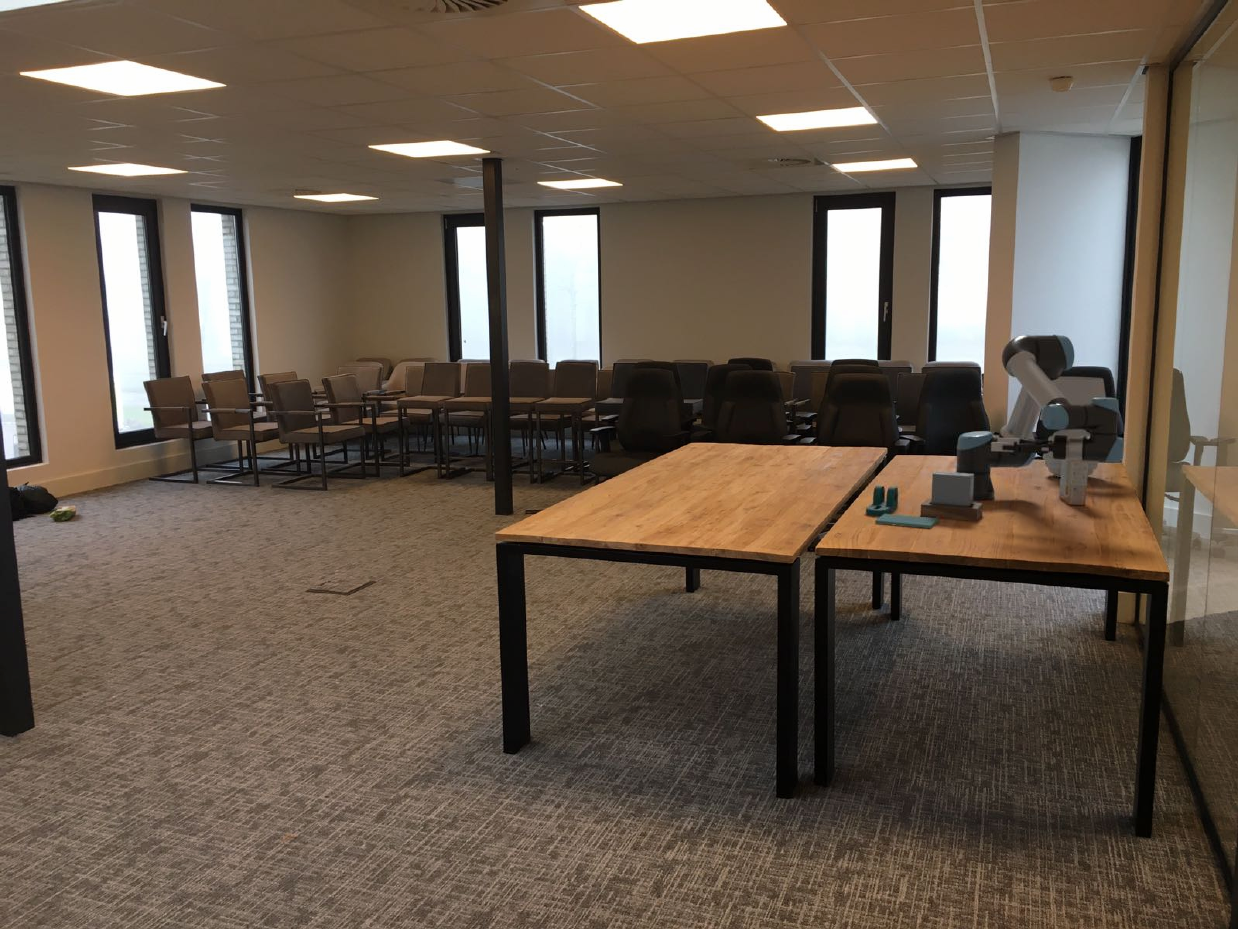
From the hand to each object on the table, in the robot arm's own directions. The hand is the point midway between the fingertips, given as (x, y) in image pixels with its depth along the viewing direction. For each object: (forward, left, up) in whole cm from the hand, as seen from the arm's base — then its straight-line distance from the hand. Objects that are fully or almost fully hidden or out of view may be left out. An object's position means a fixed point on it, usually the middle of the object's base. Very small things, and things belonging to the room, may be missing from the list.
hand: (994, 444), depth 316 cm
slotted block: (-7, -10, -24) cm, 27 cm away
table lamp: (-82, +66, -25) cm, 108 cm away
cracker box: (-29, +41, -25) cm, 56 cm away
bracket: (-15, -31, -25) cm, 43 cm away
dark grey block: (-7, -10, -25) cm, 28 cm away
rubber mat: (+3, -28, -24) cm, 37 cm away
